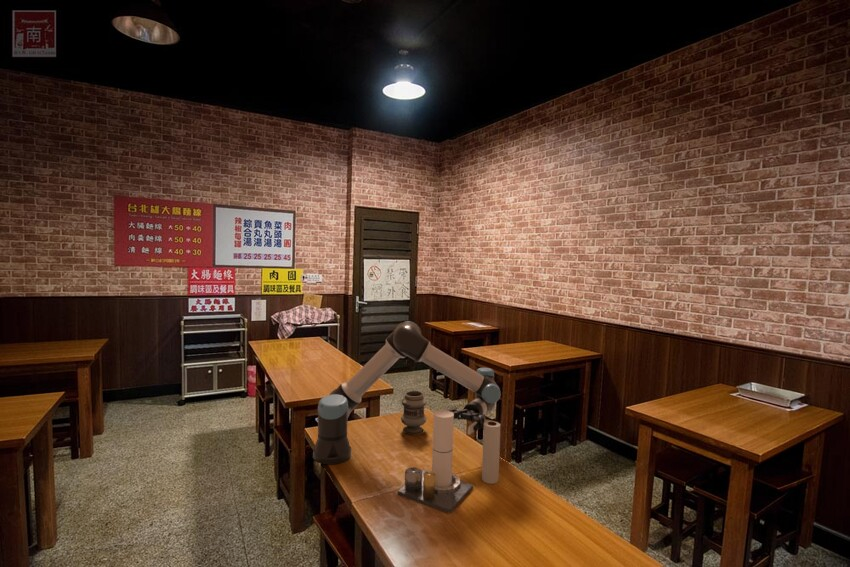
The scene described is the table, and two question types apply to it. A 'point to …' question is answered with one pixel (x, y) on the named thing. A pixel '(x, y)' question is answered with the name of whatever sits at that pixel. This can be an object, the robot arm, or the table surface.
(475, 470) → the table surface
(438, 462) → the cylindrical container
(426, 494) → the carrier
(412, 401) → the apothecary jar
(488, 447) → the paper towel roll
